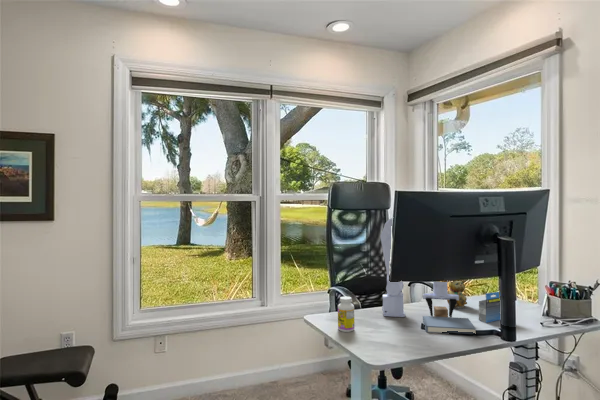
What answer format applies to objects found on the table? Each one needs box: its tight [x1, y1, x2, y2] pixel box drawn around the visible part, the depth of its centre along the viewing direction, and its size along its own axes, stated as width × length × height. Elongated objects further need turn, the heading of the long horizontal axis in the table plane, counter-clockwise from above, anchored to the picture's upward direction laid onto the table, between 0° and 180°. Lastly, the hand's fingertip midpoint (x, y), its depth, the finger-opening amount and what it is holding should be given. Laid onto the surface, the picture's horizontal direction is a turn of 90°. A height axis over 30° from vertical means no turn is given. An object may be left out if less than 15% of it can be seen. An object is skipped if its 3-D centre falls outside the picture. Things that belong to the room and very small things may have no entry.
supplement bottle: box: [337, 295, 356, 333], centre depth 149 cm, size 7×7×13 cm
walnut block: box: [433, 305, 449, 317], centre depth 159 cm, size 5×5×5 cm
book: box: [422, 315, 477, 334], centre depth 148 cm, size 18×13×3 cm
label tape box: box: [478, 291, 501, 324], centre depth 157 cm, size 9×4×12 cm, turn 113°
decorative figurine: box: [446, 281, 468, 309], centre depth 179 cm, size 10×8×15 cm
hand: (440, 316), depth 159 cm, fingers open, 7 cm apart
